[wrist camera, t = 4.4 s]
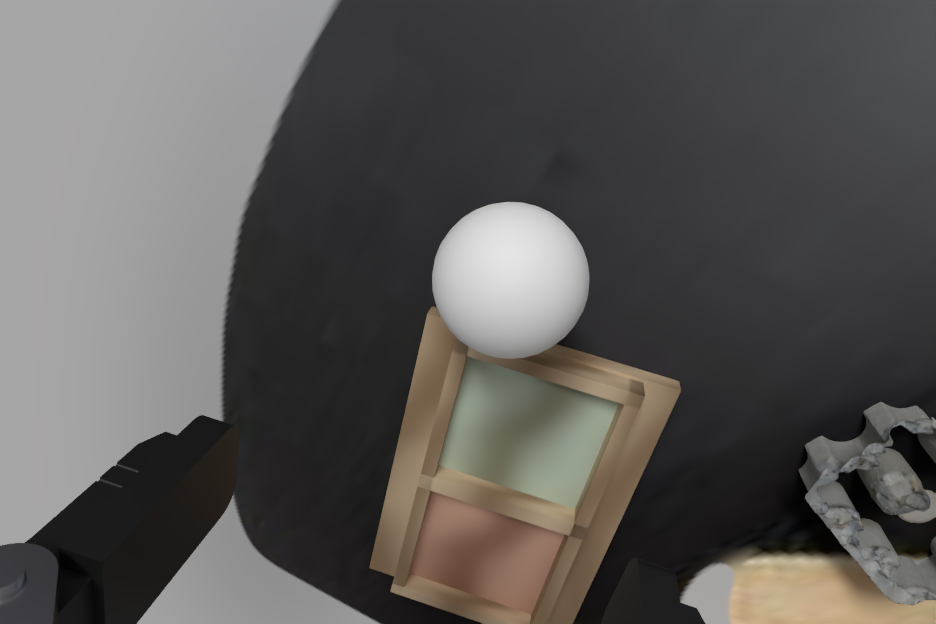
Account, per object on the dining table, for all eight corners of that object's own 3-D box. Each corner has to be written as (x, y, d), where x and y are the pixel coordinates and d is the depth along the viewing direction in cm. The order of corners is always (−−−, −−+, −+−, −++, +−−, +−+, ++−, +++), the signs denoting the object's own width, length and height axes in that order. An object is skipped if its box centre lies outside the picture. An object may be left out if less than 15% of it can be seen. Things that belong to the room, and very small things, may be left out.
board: (678, 381, 33) (684, 404, 31) (567, 622, 42) (566, 654, 40) (432, 306, 34) (420, 324, 32) (374, 556, 43) (362, 584, 41)
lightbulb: (535, 303, 33) (507, 417, 23) (448, 229, 32) (380, 313, 22) (617, 221, 30) (626, 309, 20) (525, 138, 30) (487, 188, 20)
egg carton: (1019, 518, 33) (1073, 578, 29) (880, 573, 36) (912, 634, 32) (913, 378, 31) (956, 424, 27) (775, 449, 34) (796, 499, 30)
